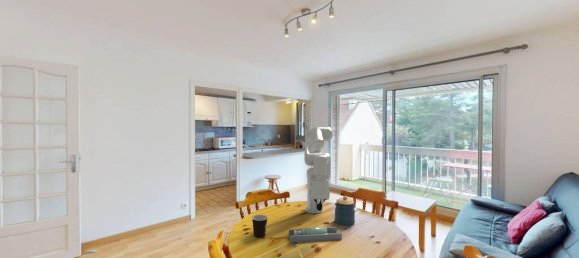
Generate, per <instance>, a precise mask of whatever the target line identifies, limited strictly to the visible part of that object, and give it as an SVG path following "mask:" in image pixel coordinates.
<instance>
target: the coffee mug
mask: <svg viewBox="0 0 579 258" xmlns="http://www.w3.org/2000/svg"><path fill="white" fill-rule="evenodd" d="M251 219H252V231H253V237H254V238H257V239H261V238H264V237H266V232H267V224H268V216H267V215H266V214H255V215H253V216H252V217H251Z"/></svg>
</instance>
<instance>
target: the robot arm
mask: <svg viewBox="0 0 579 258" xmlns="http://www.w3.org/2000/svg"><path fill="white" fill-rule="evenodd" d="M305 138H306V141H307V146H305V149H304V151H303V152H304V156H303V157H304V164H305V165H306V166H308V167H309V168H308V169H306V178H307V179H306V180H307V182H306V183H307V194H306V195H307V196H306V197H307V198H306V199H307V200H306V201H307V202H306V207H304V211H305V212H306V213H309V214H320V213H323V204H324V203H325V202H326V201H329V200H330V196H331V195H330V194H331V193H330V191H331V189H330V182H329V181H330V180H331V177H332V176H331V175H332V174H331V172H332V170H331V169H332V166H331V165H332V160H331V159H332V158H331V155H330V153H327V152H321V149H323V148H324V147H325V142H329V141H331V140H332V138H333V130H332V128H331V127H329V126H314V127H313V128H310V129H307V130H306V131H305ZM312 166H313V167H312Z"/></svg>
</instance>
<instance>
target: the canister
mask: <svg viewBox="0 0 579 258" xmlns="http://www.w3.org/2000/svg"><path fill="white" fill-rule="evenodd" d="M354 203H355V201H354V200H353V199H351V198H349V197H348V196H347V195H343V196H342V197H339V198H338V199H336V201H335V203H334V206H335V208H334V217H333V219H334V222H335V224H336V225H337V224H338V225H341V226H346V227H347V226H353V225H355V223H356V219H355V218H356V217H355V216H356V215H355V214H356V210H355V208H356V204H354Z"/></svg>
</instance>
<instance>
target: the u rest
mask: <svg viewBox="0 0 579 258" xmlns="http://www.w3.org/2000/svg"><path fill="white" fill-rule="evenodd" d="M304 228H305V227H304ZM304 228H303V227H302V228H291V229H290V228H289V229H288V239H289V241H290V244H291V245H296V244H297V245H298V243H299V242H300V243H301V242H317V241H318V242H319V241H332V240H333V241H334V240H342V239H343V233H342V232H337V226H326V228H327V234H311V235H294V230H296V231H300V230H302V229H304Z"/></svg>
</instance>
